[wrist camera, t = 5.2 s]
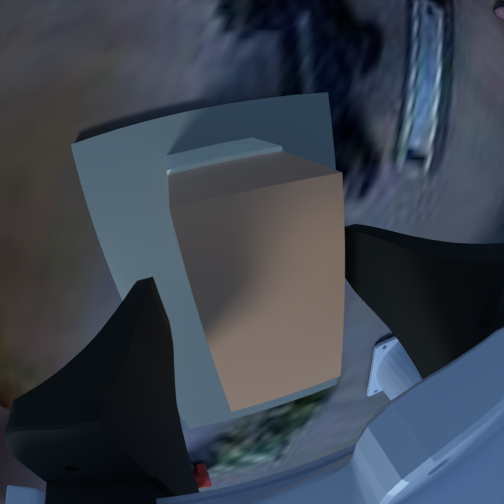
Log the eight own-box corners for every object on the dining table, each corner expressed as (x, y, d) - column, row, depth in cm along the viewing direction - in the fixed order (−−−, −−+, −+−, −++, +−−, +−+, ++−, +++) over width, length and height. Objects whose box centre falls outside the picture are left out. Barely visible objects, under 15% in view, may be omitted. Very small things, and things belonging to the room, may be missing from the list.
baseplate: (322, 92, 16) (327, 92, 16) (334, 379, 27) (336, 384, 26) (74, 143, 14) (70, 144, 13) (188, 424, 25) (188, 429, 24)
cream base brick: (252, 137, 16) (281, 146, 12) (271, 269, 19) (299, 310, 15) (166, 155, 15) (166, 170, 11) (199, 288, 19) (211, 336, 15)
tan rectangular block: (283, 151, 12) (342, 172, 8) (299, 313, 16) (340, 375, 12) (168, 174, 11) (169, 209, 7) (211, 339, 15) (231, 411, 11)
